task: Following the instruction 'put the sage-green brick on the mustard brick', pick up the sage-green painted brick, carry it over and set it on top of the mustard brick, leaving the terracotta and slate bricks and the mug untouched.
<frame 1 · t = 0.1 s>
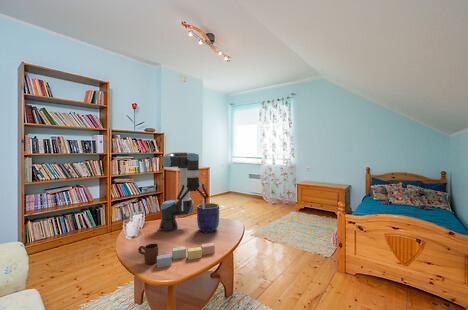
hand: (193, 209, 137), 28 cm above the table, fingers open, 13 cm apart
mustard brick: (194, 257, 131), on the table
mug: (148, 261, 125), on the table
planter: (208, 230, 176), on the table
sage brick: (179, 256, 132), on the table
slate brick: (164, 264, 122), on the table
terracotta brick: (207, 252, 137), on the table
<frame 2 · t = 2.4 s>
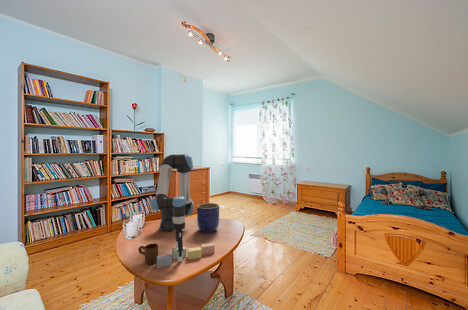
hand: (179, 256, 131), 0 cm above the table, fingers open, 13 cm apart
nothing on the table moved.
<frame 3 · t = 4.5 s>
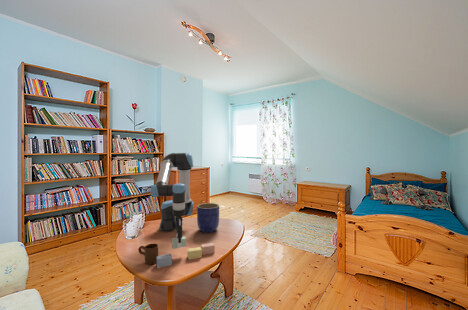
hand: (179, 245, 132), 7 cm above the table, fingers closed on sage brick, 4 cm apart
sage brick: (179, 246, 132), point 6 cm above the table, touching gripper
everything else where it was.
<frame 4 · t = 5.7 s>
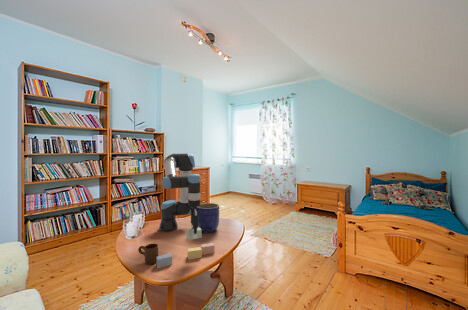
hand: (194, 236, 131), 13 cm above the table, fingers closed on sage brick, 4 cm apart
sage brick: (194, 237, 131), point 12 cm above the table, touching gripper
everything else where it was.
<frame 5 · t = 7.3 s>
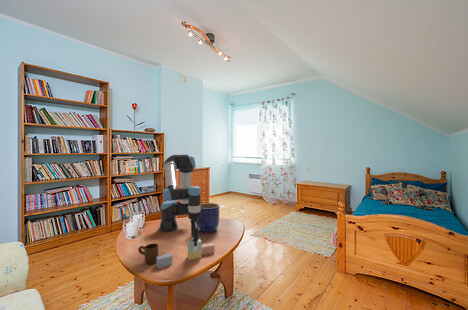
hand: (194, 249, 131), 5 cm above the table, fingers closed on sage brick, 4 cm apart
mustard brick: (194, 257, 131), on the table, touching gripper, sage brick
sage brick: (194, 249, 131), point 5 cm above the table, touching gripper, mustard brick
everything else where it was.
when the fingers open (5 cm above the table, at t = 8.0 s): sage brick stays where it is, resting on mustard brick.
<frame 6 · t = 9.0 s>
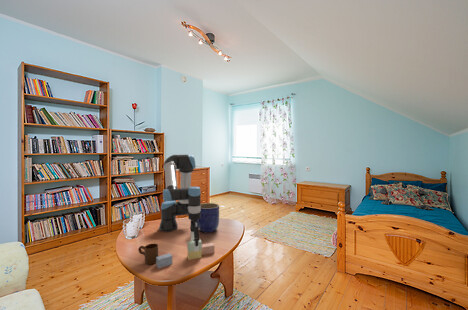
hand: (194, 246, 131), 7 cm above the table, fingers open, 13 cm apart
mustard brick: (194, 257, 131), on the table, touching sage brick
sage brick: (194, 249, 130), point 5 cm above the table, touching mustard brick
everything else where it was.
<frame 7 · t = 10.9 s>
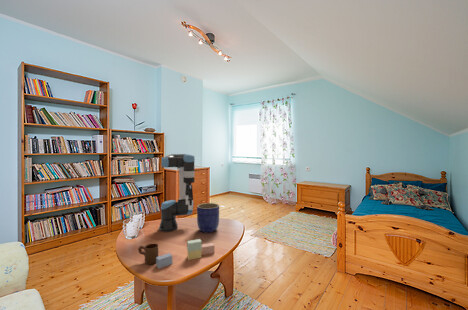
hand: (189, 206, 148), 27 cm above the table, fingers open, 13 cm apart
nothing on the table moved.
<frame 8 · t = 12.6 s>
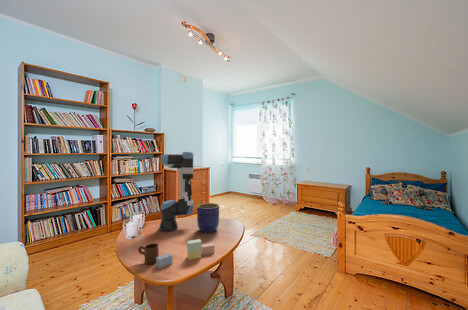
hand: (188, 202, 151), 29 cm above the table, fingers open, 13 cm apart
nothing on the table moved.
at the end: sage brick 0.0 cm off-centre on the mustard brick, point 5.0 cm above the mustard brick's base; slate brick moved 0.2 cm from its start; terracotta brick moved 0.2 cm from its start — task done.
